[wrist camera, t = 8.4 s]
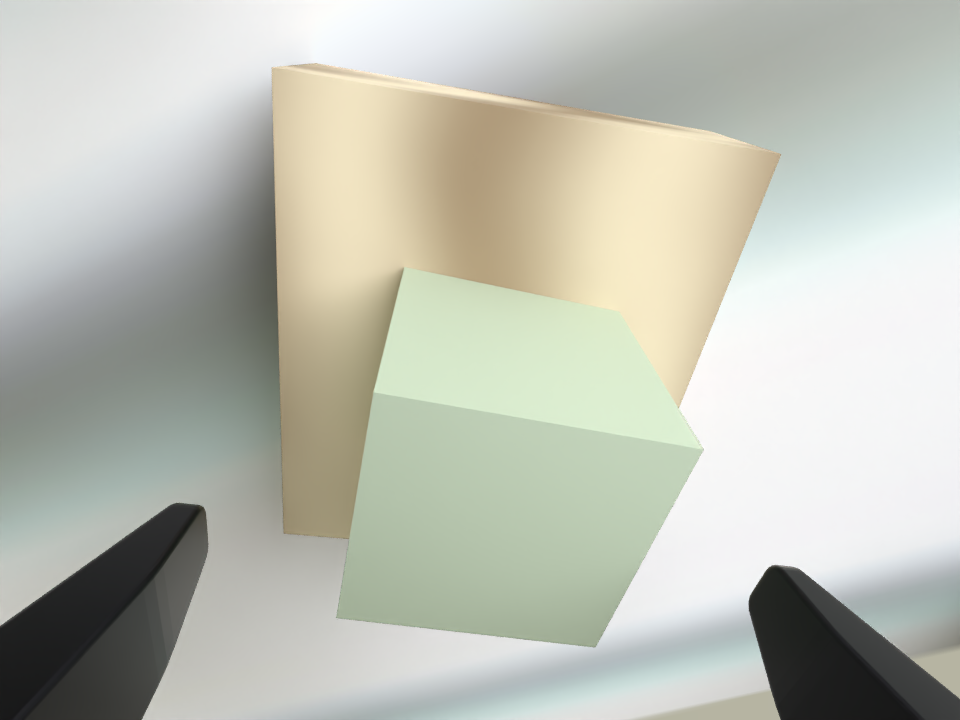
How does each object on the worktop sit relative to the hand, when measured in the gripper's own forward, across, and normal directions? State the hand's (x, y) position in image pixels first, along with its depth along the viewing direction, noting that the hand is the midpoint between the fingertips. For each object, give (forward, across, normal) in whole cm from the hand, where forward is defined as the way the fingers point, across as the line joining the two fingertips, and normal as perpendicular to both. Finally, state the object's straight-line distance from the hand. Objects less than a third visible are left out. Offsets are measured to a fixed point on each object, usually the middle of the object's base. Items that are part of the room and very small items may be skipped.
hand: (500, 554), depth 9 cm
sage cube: (+6, 0, 0) cm, 6 cm away
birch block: (+10, 0, 0) cm, 10 cm away
